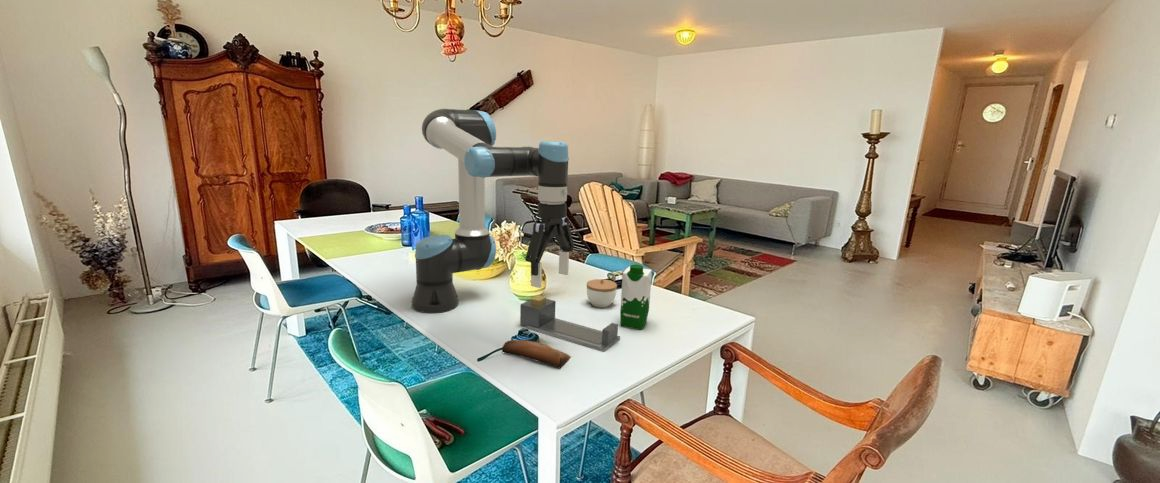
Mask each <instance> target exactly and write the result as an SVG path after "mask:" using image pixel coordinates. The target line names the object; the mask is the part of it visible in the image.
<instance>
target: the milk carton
mask: <svg viewBox="0 0 1160 483" xmlns="http://www.w3.org/2000/svg"><path fill="white" fill-rule="evenodd" d="M621 281H622V284H621V294H620V295H621V297H620V307H619V308H620V309H619V310H620V311H619V313H620V314H619V315H620V327H622V328H629V329H634V330H639V331H642V330H643V329H644V328H645V326H646V324H647V322H648V321H647V320H648V315H649V311H650V301H651V300H650V299H651V290H652V287H651V286H652V269H650V268H644V266H643V265H641V264H631V265H630V266H628V267H627V268H626V269H625V270H624V271H623V272H622V280H621Z"/></svg>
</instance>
